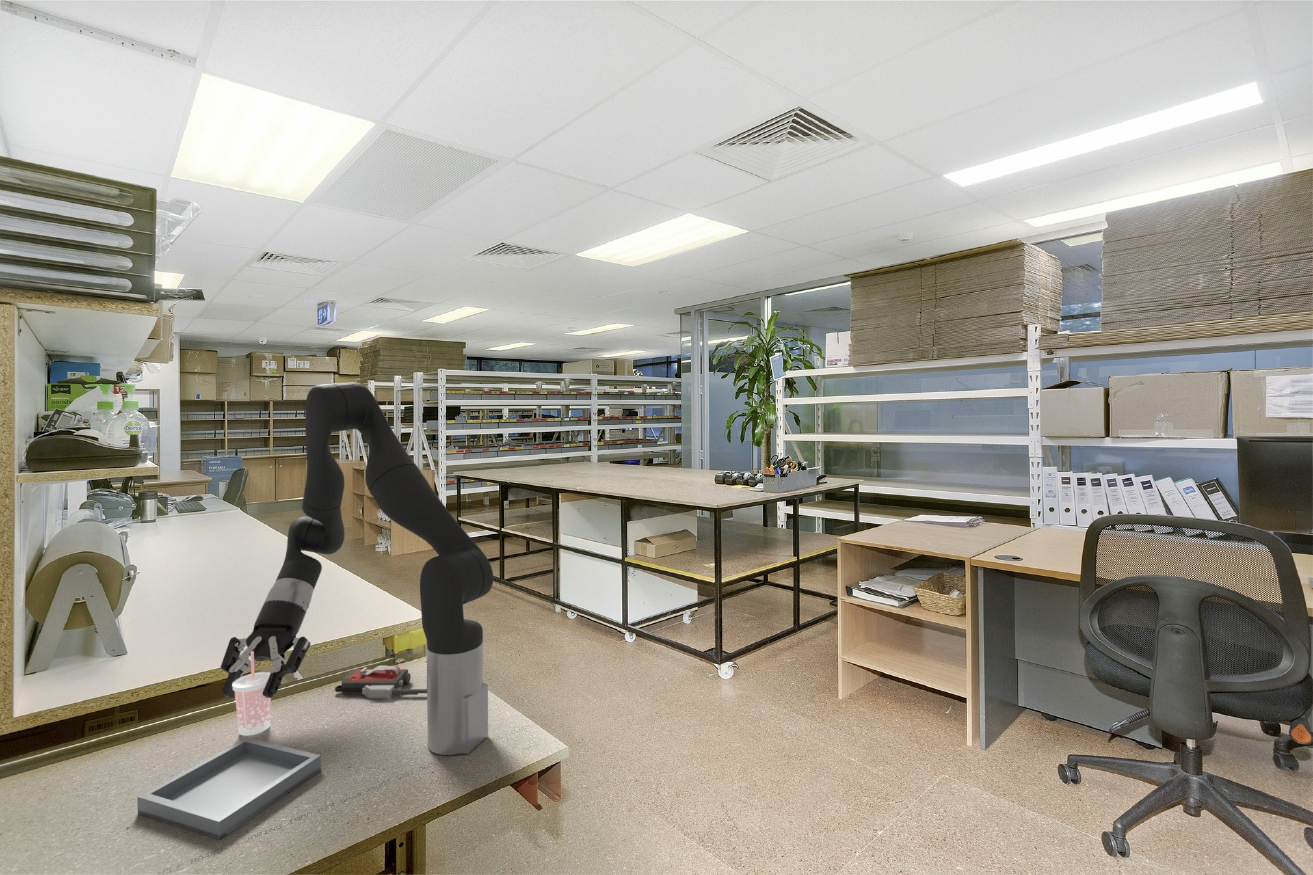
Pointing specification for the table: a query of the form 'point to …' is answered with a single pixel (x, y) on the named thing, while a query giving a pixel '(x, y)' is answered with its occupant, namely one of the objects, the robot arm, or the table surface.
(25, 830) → the table surface
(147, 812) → the tray
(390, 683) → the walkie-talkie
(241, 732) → the beverage cup
